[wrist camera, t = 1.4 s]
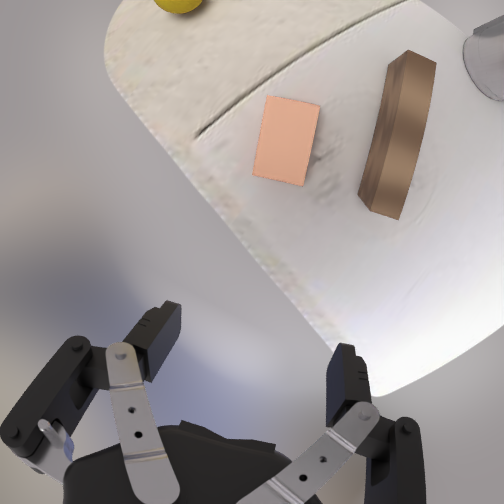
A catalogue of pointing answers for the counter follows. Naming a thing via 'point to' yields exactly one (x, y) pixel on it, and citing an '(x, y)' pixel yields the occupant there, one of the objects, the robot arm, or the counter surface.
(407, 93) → the walnut plank
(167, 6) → the lemon
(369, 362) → the counter surface
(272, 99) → the terracotta block
